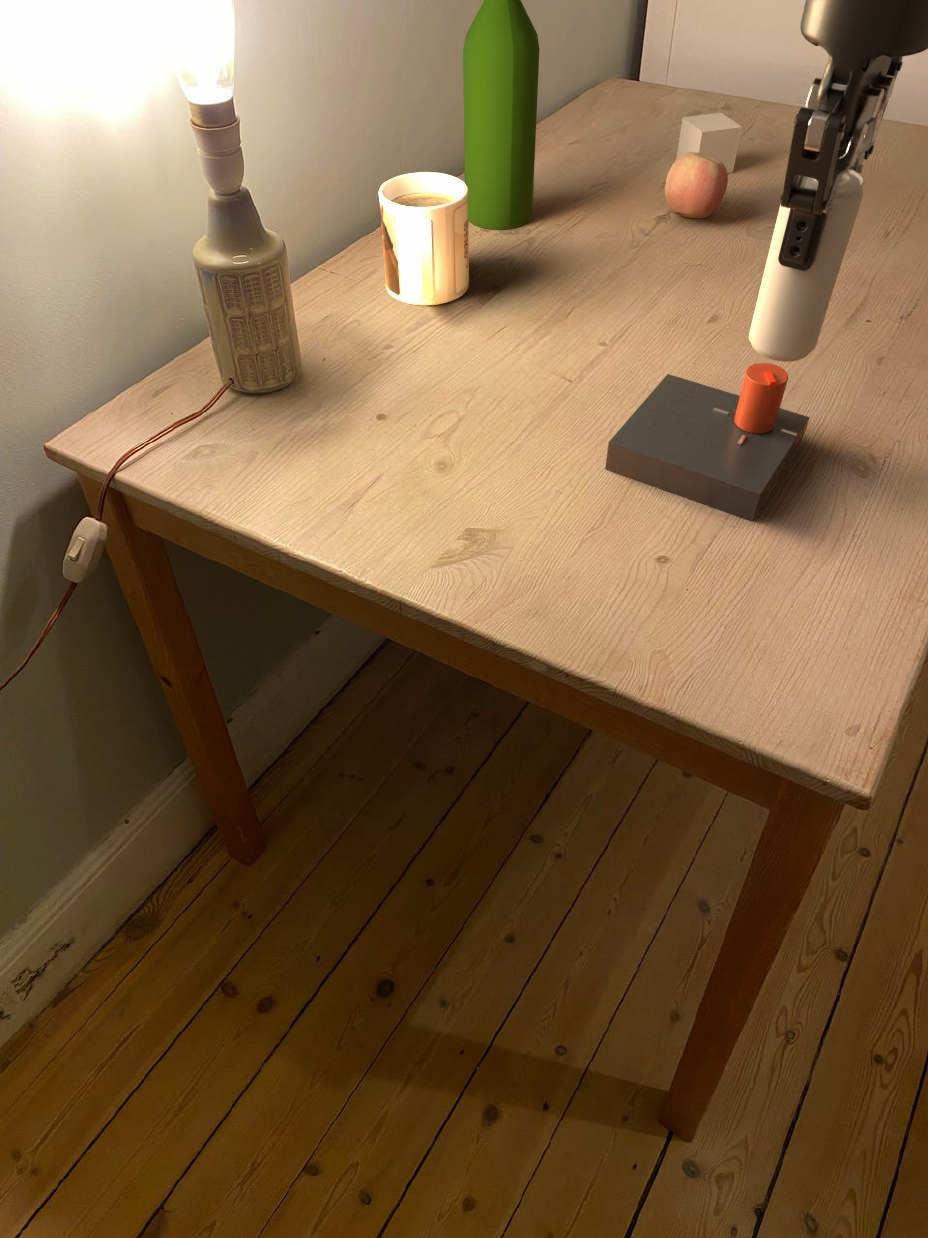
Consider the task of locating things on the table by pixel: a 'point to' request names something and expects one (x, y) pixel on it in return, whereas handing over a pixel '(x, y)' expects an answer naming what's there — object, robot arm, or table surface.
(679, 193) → the apple
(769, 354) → the beverage can
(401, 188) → the mug
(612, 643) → the table surface
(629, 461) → the base block
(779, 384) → the control knob
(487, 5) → the wine bottle
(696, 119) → the white block
